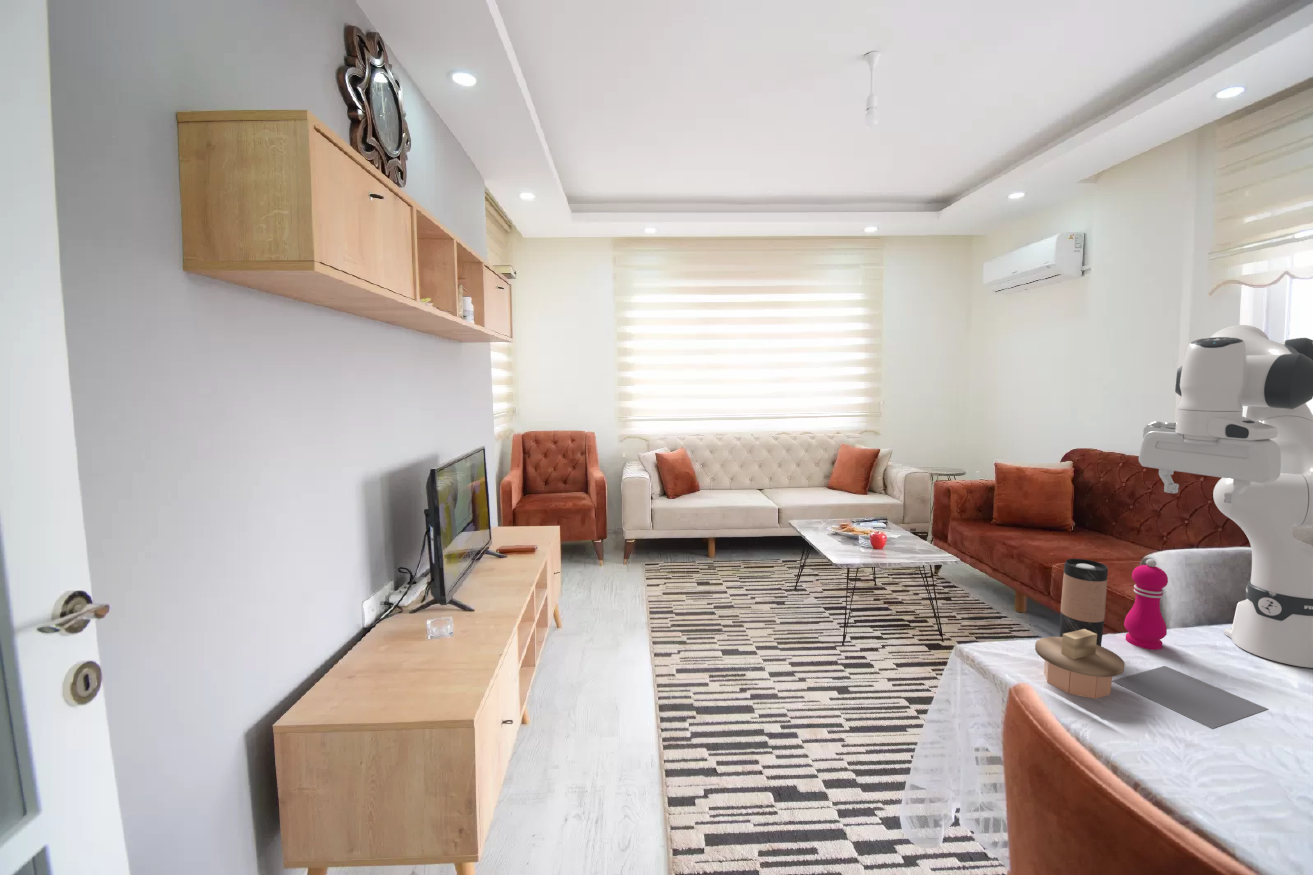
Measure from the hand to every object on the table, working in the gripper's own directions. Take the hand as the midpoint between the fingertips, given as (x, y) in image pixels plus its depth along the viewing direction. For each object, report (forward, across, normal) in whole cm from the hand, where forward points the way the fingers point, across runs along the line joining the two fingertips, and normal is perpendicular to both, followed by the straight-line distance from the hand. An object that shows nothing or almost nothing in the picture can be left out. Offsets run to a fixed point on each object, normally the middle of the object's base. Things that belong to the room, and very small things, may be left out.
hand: (1199, 497), depth 109 cm
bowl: (+37, -6, -21) cm, 43 cm away
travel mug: (+37, -15, -7) cm, 41 cm away
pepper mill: (+37, -12, +9) cm, 40 cm away
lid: (+31, -6, -21) cm, 38 cm away
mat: (+37, +4, -6) cm, 38 cm away
